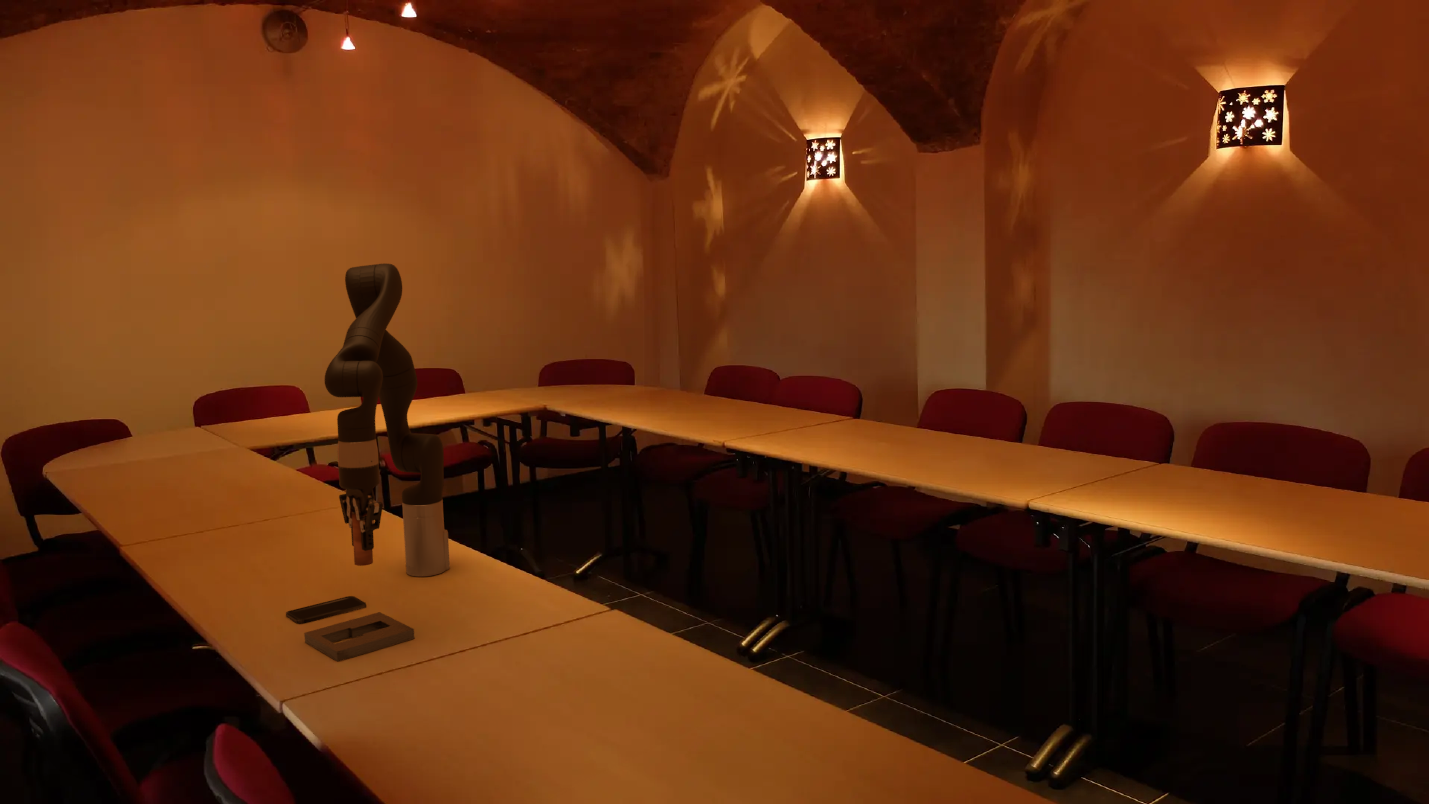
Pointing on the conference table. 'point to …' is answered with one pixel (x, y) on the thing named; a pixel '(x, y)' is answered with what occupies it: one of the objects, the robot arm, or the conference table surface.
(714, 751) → the conference table surface
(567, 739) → the conference table surface
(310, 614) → the phone
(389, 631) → the keyhole plate
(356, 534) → the peg
